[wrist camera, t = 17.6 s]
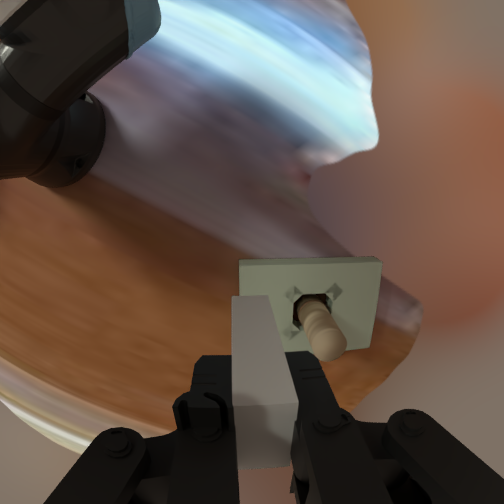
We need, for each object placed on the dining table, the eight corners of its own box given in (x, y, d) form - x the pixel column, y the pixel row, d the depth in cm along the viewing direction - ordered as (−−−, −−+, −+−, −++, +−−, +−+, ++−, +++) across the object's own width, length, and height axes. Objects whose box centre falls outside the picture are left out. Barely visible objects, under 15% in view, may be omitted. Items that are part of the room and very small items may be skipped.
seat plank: (240, 347, 45) (241, 357, 42) (238, 259, 41) (239, 265, 38) (362, 338, 46) (369, 347, 43) (373, 256, 43) (382, 261, 40)
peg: (293, 317, 44) (310, 363, 32) (294, 291, 43) (314, 332, 31) (319, 316, 44) (344, 360, 33) (322, 290, 43) (350, 330, 32)
